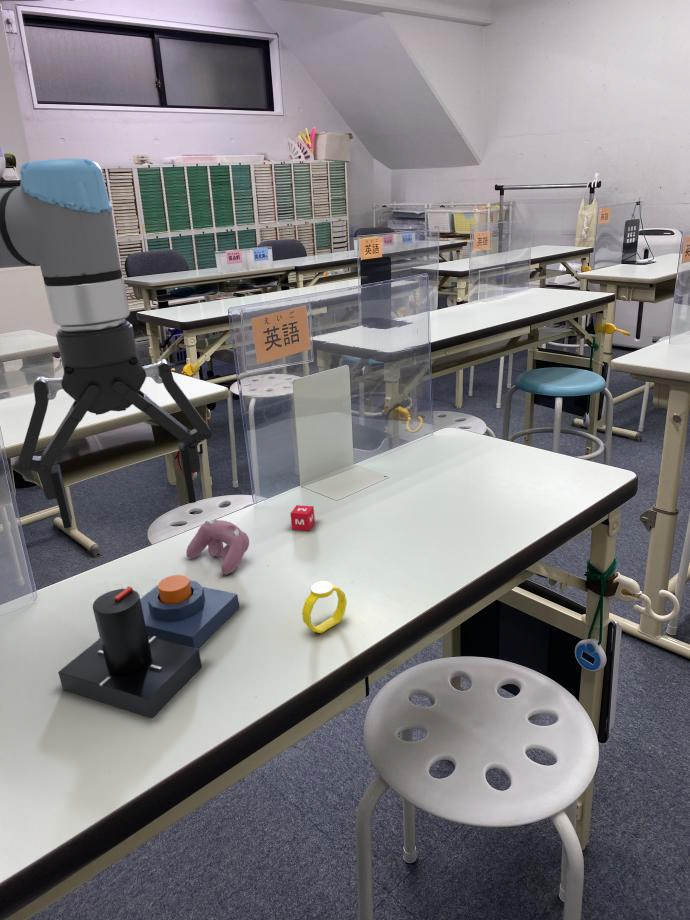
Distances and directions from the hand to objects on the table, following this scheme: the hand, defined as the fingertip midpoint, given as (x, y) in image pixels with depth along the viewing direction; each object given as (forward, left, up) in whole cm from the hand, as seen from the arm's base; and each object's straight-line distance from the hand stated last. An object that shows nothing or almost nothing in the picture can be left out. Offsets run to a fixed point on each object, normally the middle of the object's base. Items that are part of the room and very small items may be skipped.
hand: (131, 510), depth 78 cm
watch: (+18, +11, -19) cm, 28 cm away
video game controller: (-5, +21, -19) cm, 29 cm away
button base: (-1, +6, -19) cm, 20 cm away
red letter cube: (+2, +35, -19) cm, 40 cm away
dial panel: (+1, -6, -19) cm, 20 cm away
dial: (+1, -6, -16) cm, 17 cm away
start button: (-1, +6, -15) cm, 16 cm away
